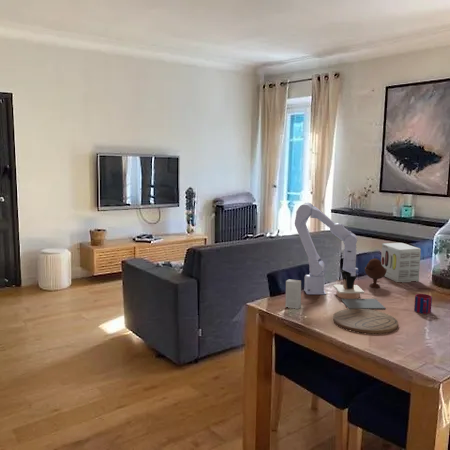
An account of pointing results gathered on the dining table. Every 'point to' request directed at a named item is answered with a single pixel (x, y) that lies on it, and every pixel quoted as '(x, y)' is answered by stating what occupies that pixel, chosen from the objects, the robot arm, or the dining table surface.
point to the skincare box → (293, 294)
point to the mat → (362, 304)
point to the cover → (344, 288)
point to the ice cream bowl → (375, 271)
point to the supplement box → (401, 261)
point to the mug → (423, 303)
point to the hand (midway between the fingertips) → (348, 287)
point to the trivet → (365, 321)
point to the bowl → (348, 295)
